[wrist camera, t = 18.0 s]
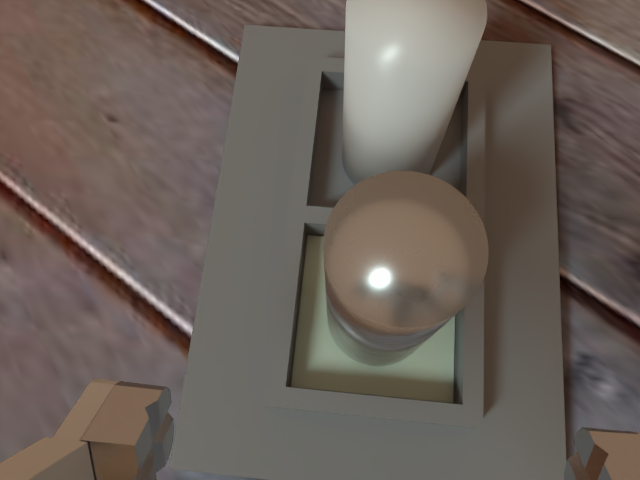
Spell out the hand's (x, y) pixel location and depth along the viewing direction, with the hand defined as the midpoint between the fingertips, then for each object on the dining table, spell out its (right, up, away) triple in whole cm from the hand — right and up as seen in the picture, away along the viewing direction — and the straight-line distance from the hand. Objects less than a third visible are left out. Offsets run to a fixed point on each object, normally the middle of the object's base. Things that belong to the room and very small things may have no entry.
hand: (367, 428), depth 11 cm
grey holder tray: (+2, +4, +15) cm, 16 cm away
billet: (+2, 0, +13) cm, 13 cm away
